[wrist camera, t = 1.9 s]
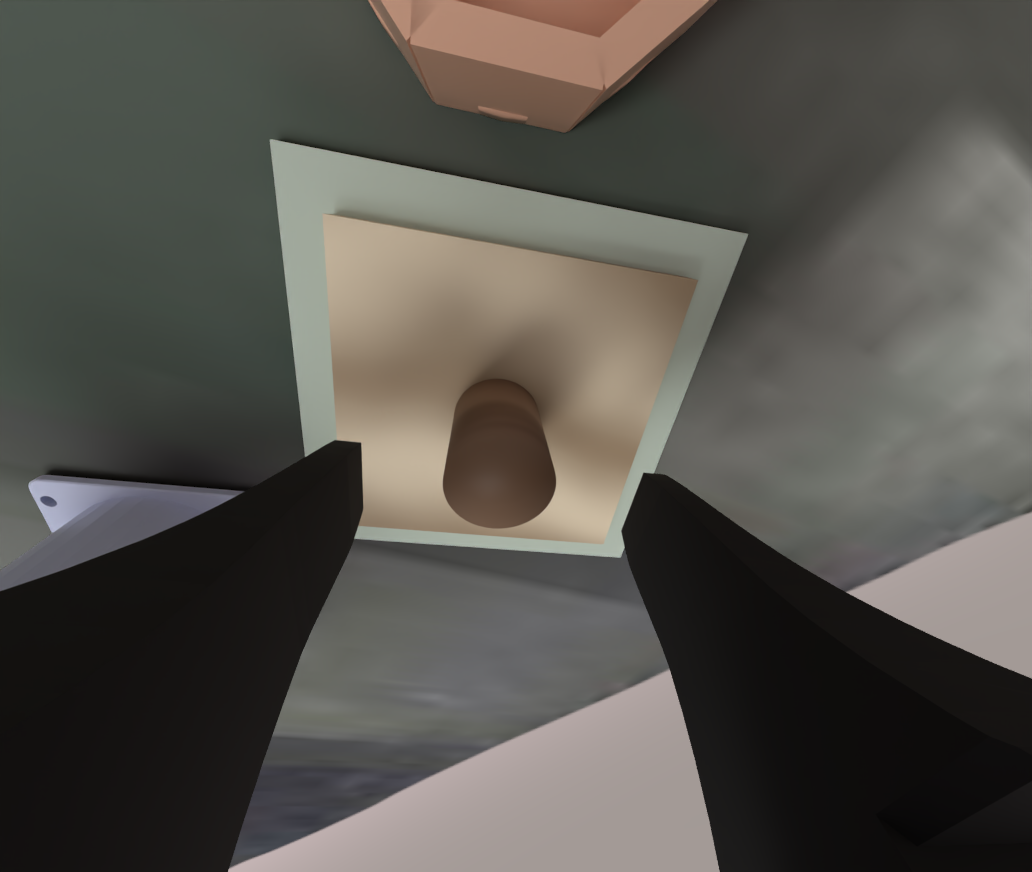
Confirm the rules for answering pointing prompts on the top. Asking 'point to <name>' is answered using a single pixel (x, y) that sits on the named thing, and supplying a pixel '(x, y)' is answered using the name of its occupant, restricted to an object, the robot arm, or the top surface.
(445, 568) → the top surface
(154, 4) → the top surface
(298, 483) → the robot arm
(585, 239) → the mat
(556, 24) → the bowl
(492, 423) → the lid
